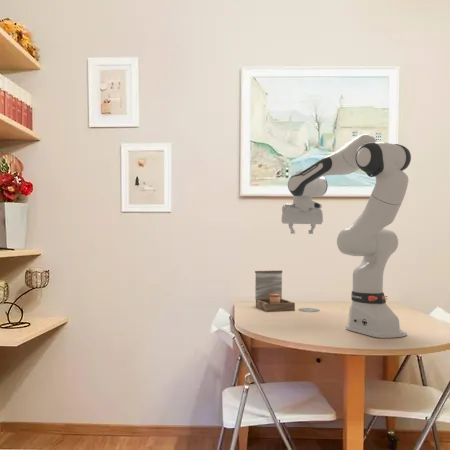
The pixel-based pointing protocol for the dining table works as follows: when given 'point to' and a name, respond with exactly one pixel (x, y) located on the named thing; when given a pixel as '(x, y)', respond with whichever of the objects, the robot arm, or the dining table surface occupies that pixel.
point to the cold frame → (270, 291)
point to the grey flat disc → (309, 310)
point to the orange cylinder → (274, 298)
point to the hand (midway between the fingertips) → (301, 233)
